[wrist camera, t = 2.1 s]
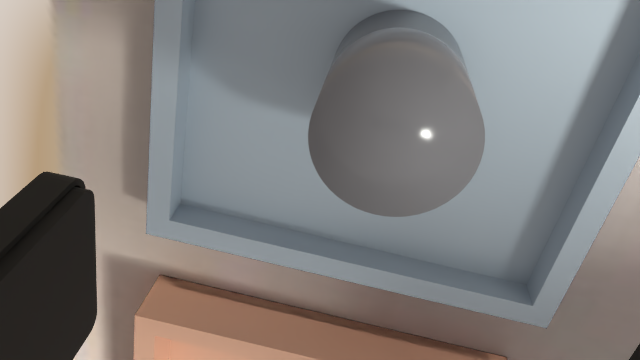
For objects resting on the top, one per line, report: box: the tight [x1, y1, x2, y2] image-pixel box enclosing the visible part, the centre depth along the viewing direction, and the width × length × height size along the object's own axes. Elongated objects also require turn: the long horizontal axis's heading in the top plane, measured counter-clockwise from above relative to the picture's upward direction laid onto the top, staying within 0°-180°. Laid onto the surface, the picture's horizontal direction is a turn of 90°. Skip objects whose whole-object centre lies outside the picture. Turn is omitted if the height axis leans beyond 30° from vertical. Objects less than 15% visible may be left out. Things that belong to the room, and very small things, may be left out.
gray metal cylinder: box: [308, 10, 485, 217], centre depth 18 cm, size 5×5×6 cm
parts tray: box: [146, 0, 640, 328], centre depth 21 cm, size 18×18×2 cm
